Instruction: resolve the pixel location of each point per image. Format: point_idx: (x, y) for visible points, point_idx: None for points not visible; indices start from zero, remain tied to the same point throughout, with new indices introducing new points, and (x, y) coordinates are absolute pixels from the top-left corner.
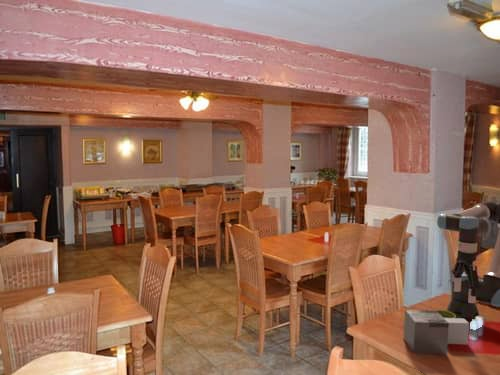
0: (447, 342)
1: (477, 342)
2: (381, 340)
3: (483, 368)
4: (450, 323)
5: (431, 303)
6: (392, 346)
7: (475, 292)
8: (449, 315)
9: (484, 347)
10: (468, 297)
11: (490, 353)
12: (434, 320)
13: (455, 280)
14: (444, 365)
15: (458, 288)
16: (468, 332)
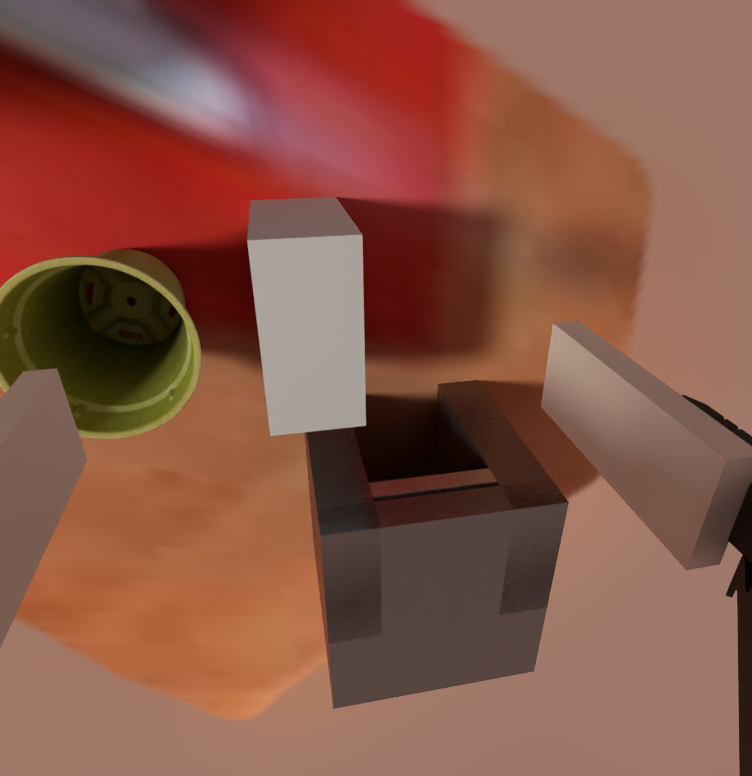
0: (504, 417)
1: (290, 94)
2: None
3: (628, 234)
4: (363, 391)
5: None
6: None
7: (750, 445)
8: (34, 280)
9: (371, 77)
10: (578, 447)
11: (462, 80)
12: (516, 577)
13: (3, 630)
14: None
15: (48, 439)
16: (347, 215)
